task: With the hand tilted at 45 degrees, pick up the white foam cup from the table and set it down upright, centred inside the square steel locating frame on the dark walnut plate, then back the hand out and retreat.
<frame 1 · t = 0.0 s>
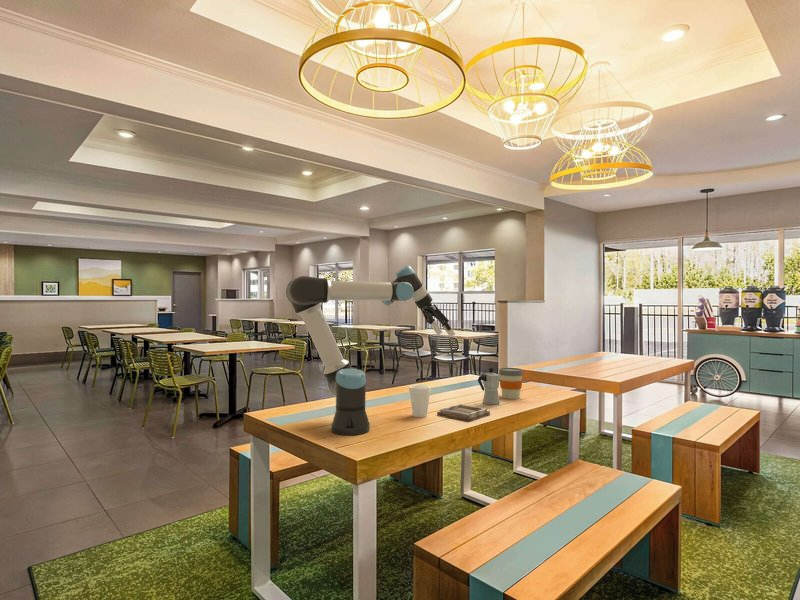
hand: (446, 334, 209), 36 cm above the table, tool tilted 35°, fingers open, 13 cm apart
reusable coffee cup: (510, 397, 246), on the table
foam cup: (419, 416, 204), on the table
coffee maker: (489, 404, 230), on the table
seat plate: (463, 415, 206), on the table
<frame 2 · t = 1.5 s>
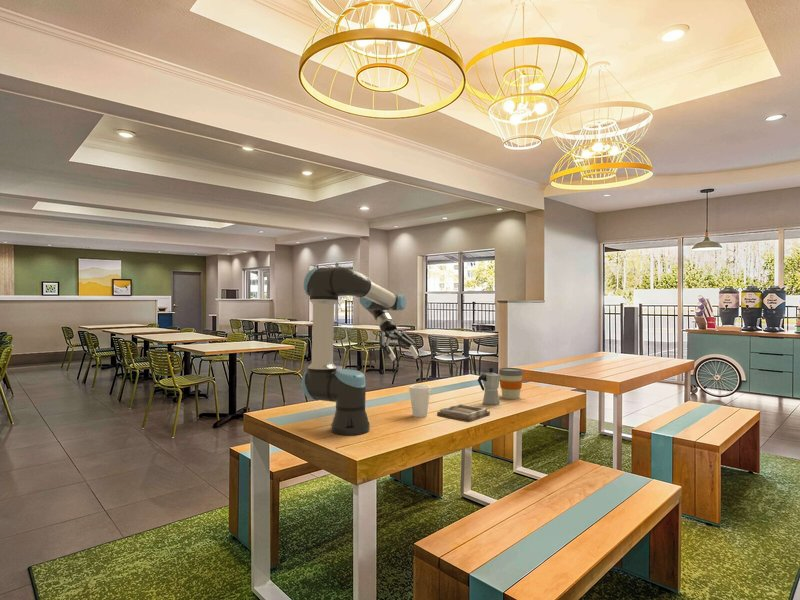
hand: (405, 358, 213), 25 cm above the table, tool tilted 45°, fingers open, 13 cm apart
nothing on the table moved.
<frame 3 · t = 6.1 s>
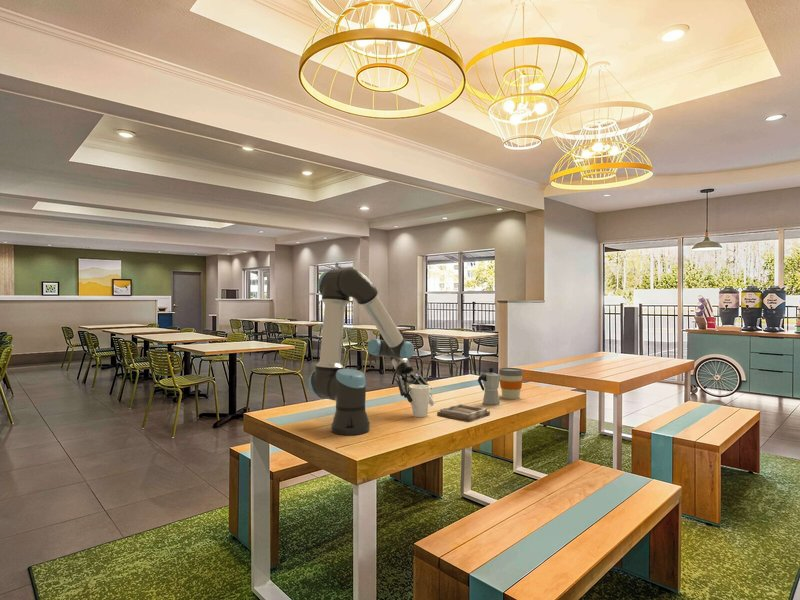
hand: (424, 405, 202), 5 cm above the table, tool tilted 45°, fingers closed on foam cup, 9 cm apart
foam cup: (419, 415, 204), on the table, touching gripper
everything else where it was.
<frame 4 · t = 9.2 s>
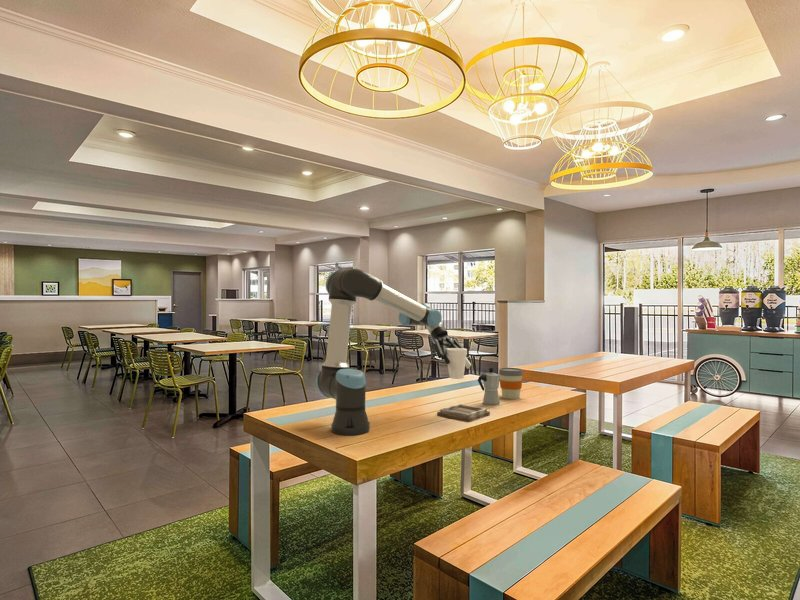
hand: (461, 367, 204), 22 cm above the table, tool tilted 45°, fingers closed on foam cup, 9 cm apart
foam cup: (456, 378, 207), point 16 cm above the table, touching gripper
everything else where it was.
when the fingers open (9 cm above the table, at t = 12.3 s): foam cup drops 2 cm, resting on seat plate.
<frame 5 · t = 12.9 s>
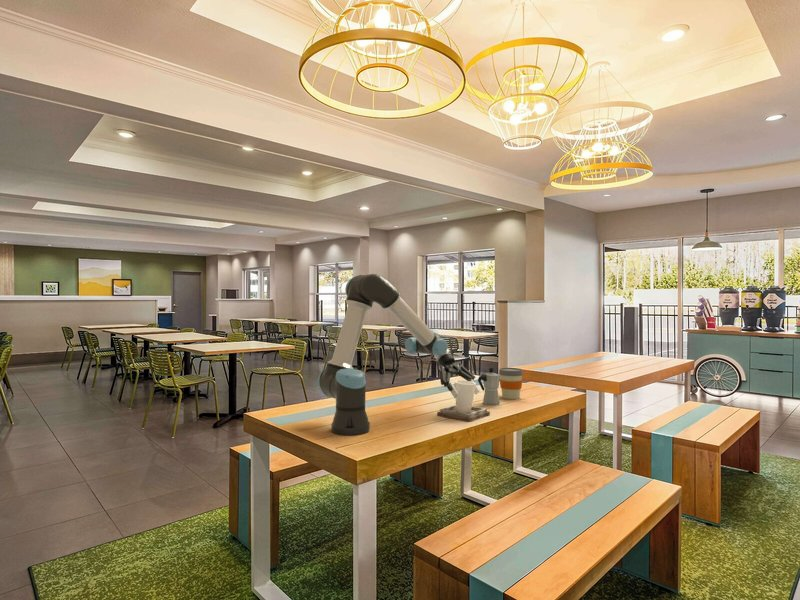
hand: (467, 394, 204), 10 cm above the table, tool tilted 45°, fingers open, 13 cm apart
foam cup: (463, 411, 206), point 2 cm above the table, touching seat plate
everything else where it was.
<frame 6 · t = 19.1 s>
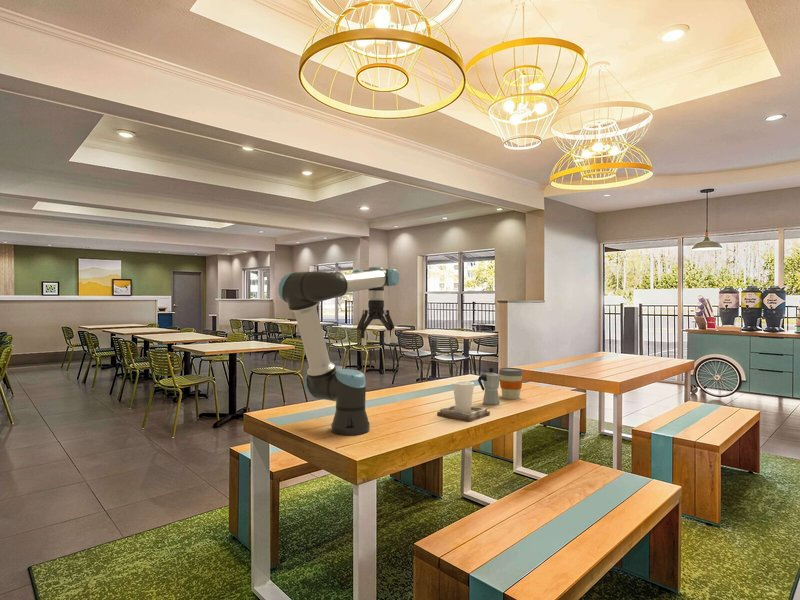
hand: (375, 344, 216), 31 cm above the table, tool pointing down, fingers open, 13 cm apart
at the end: foam cup 0.1 cm off-centre on the seat plate, point 1.3 cm above the seat plate's base; foam cup tilted 0°; the gripper is holding nothing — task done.
